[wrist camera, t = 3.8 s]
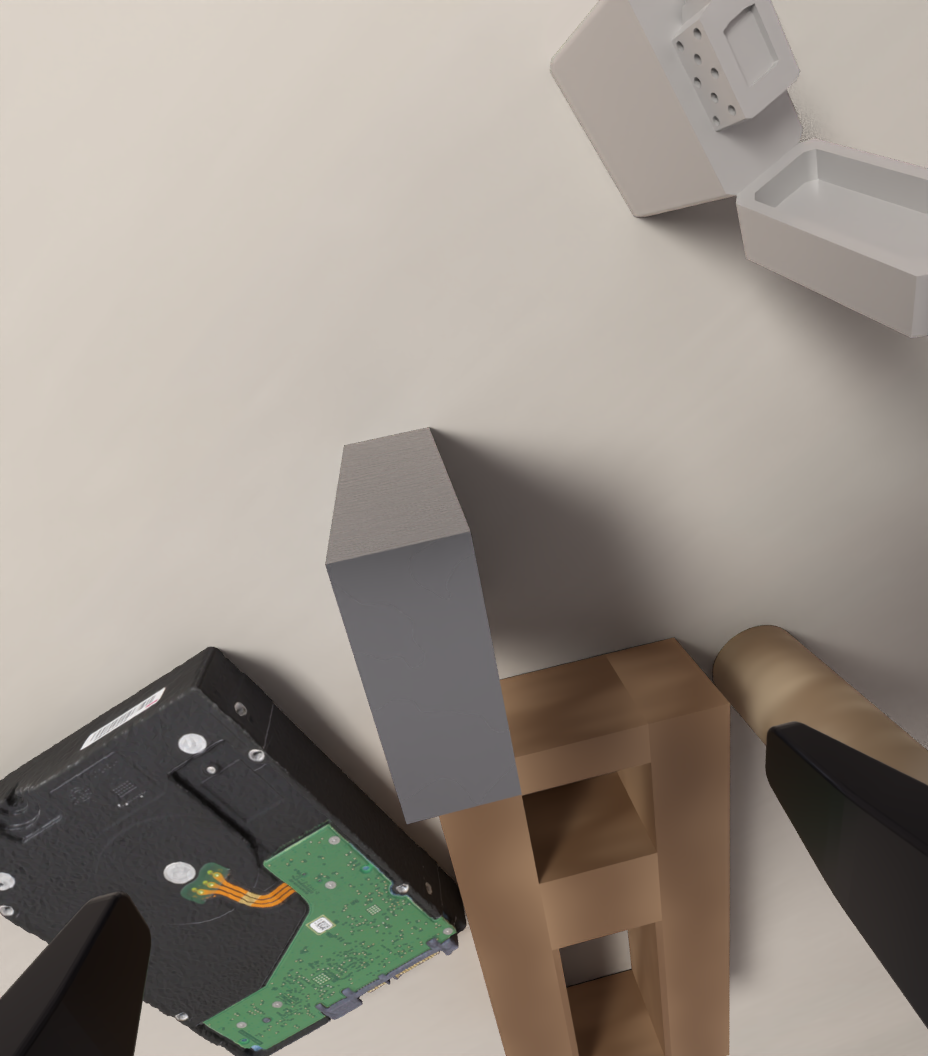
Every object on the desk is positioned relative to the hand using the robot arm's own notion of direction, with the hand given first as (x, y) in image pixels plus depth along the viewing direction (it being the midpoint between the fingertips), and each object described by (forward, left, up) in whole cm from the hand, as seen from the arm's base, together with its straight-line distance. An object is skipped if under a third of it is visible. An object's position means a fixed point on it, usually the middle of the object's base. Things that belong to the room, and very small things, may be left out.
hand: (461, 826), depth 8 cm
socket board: (-3, +16, -10) cm, 19 cm away
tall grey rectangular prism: (0, 0, -10) cm, 10 cm away
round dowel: (-11, +8, -10) cm, 17 cm away
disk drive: (+9, +11, -11) cm, 18 cm away
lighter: (-8, -8, -11) cm, 15 cm away
